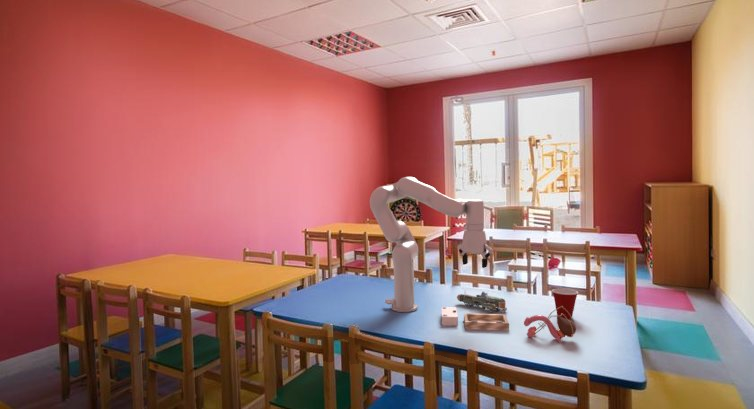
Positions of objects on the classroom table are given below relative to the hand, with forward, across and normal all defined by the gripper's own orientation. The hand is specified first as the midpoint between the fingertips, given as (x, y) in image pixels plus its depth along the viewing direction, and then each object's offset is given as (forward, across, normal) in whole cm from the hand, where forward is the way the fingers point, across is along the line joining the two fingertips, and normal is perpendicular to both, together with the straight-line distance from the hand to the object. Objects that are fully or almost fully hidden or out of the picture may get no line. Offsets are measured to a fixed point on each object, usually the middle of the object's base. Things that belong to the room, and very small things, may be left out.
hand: (474, 265), depth 190 cm
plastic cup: (+23, +31, +23) cm, 45 cm away
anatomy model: (+23, +35, -4) cm, 42 cm away
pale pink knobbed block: (+23, -6, -12) cm, 27 cm away
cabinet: (+23, +10, -8) cm, 26 cm away
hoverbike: (+23, -3, +12) cm, 26 cm away
